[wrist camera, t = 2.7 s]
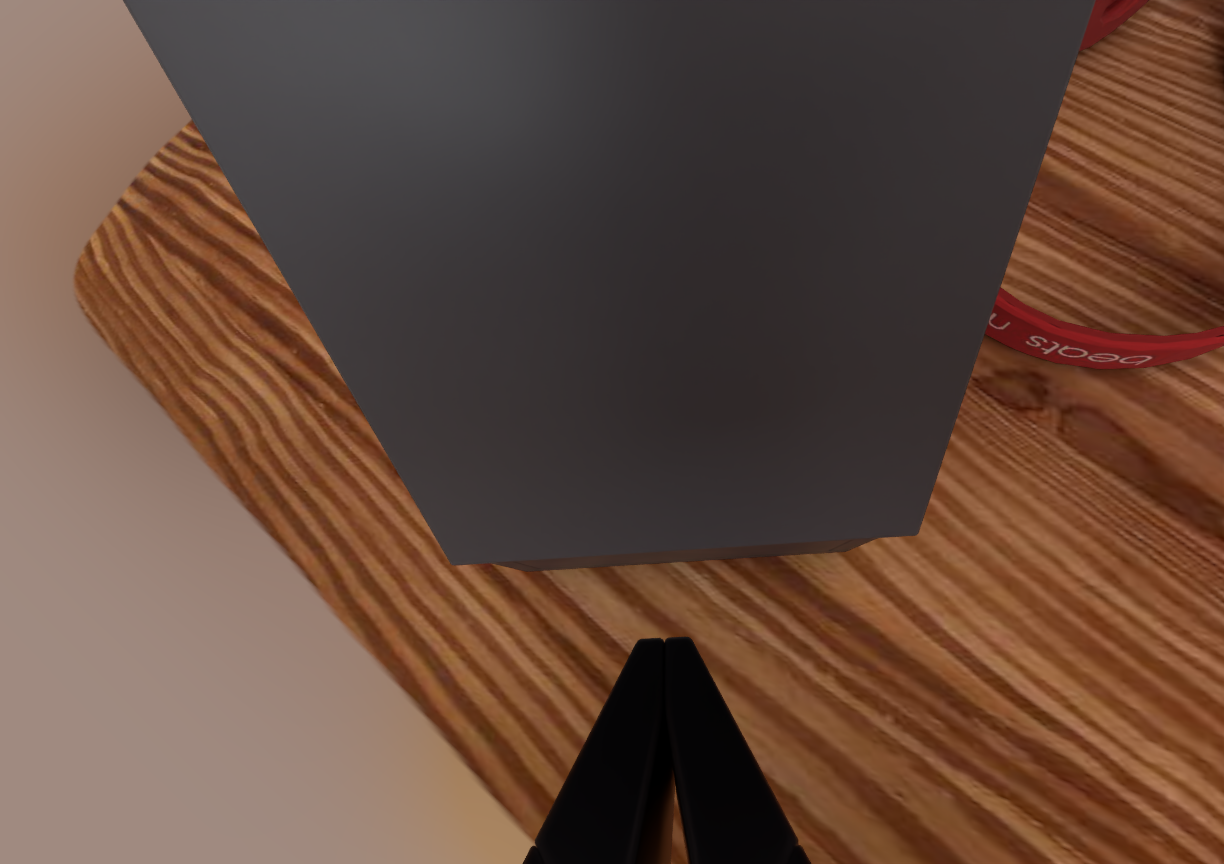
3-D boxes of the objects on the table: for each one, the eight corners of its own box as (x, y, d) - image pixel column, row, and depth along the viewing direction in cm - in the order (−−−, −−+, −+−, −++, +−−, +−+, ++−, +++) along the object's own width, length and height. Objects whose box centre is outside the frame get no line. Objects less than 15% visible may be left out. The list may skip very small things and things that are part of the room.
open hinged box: (525, 281, 28) (471, 181, 21) (794, 246, 26) (825, 127, 20) (525, 571, 23) (460, 556, 17) (846, 551, 22) (907, 527, 16)
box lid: (85, -136, 7) (37, -140, 7) (1184, -403, 6) (1247, -438, 5) (457, 544, 17) (450, 566, 16) (908, 512, 15) (919, 536, 15)
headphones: (1030, -49, 28) (834, 299, 27) (1121, -234, 22) (864, 221, 21) (1396, 35, 24) (1178, 447, 23) (1650, -160, 17) (1357, 411, 17)
